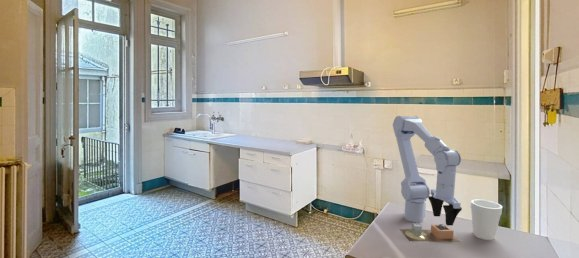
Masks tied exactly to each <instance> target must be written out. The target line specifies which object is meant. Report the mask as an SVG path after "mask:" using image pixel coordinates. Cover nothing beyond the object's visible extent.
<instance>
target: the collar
mask: <svg viewBox="0 0 579 258" xmlns="http://www.w3.org/2000/svg"><path fill="white" fill-rule="evenodd" d="M430 225H431V226H430V230H431V233H432V234H433V235H435V236H436V237H437V238H438V239H453V236H454V230H453V229H452V228H451V227H450V226H448V225H446V223H444V224H443V225H445V226H446V230H440V229H439V224H430Z"/></svg>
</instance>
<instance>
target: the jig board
mask: <svg viewBox="0 0 579 258" xmlns="http://www.w3.org/2000/svg"><path fill="white" fill-rule="evenodd" d="M399 230H400V232H401V233H402V234H403V236H404V237H405V238H406V239H407V240H408V241H409V242H436V243H437V242H441V243H443V242H445V243H461V241H460V240H459V239H458V238H457V237H456V236H454V235H453V239H438V238H437V237H436V236H435V235H433V234H432V233H431V229H422V231H421V232H423V233H425V234H426V235H427V236H428V238H427V239H426V240H415V239H412V238H410V237H408V236H406V235H405V231H407V230H412V228H410V229H406V228H399Z"/></svg>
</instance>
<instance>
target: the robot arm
mask: <svg viewBox="0 0 579 258" xmlns="http://www.w3.org/2000/svg"><path fill="white" fill-rule="evenodd" d="M392 128H393V132H394V136H395V138H396V143H397V147H398V151H399V156H400V160H401V164H402V167H403V172H404V179H403V180H402V181H401V182H400V185H401V189H400V192H401V196H402V197H403V199H404V200H405V202H404V203H405V204H404V219H405V220H406V221H408V222H412V223H423V221H424V218H426V210H427V209H426V208H427V203H426V202H427V199H428V200H429V202H430V206H431V208H432V209H431V210H432V214H433V216H434V217H441V214H442V210H443V209H444V215H445V225H446V226H448V227H450V226H454V224H455V220H456V219H457V216H458V215H459V213H460V212H461V211H462V209H463V208H462V207H461V204H462V203H461V202H459V200H458V199H456V197H455V189H456V188H455V186H456V175H457V174H456V173H457V166H459V165H460V164H461V161H462V157H461V154H460V153H459V151H458V150H456V149H452V148H450V147H449V146H448V145H446V144H445V142H443V141H442V140H441V139H442V138H441V137H440V136H436V135H435V136H433V135H432V134H431V132H430V131H429V130H428V129H427V128H426V127H425V126H424V124H423V119H421V118H420V117H419V115H411V116H410V115H403V116H402V115H397V116H395V117H394V119H393V122H392ZM415 135H417V136H418V137H419V138H420V139H421V140H422V141H423V142H424V147H425V149H427V151H428V152H429V153H430V154H431V156H433V161H434V162H435V167H436V171H437V173H436V187H435V188H434V189H433V188H432V189H430V187H429V186H428V184H427V181H426V179H425V178H423V177H422V176H421V175H420V173H419V169H418V165H417V162H416V158H415V154H414V150H413V146H412V142H411V140H412V139H411V138H413V137H414V136H415ZM430 195H431V196H430ZM444 203H447V204H445V205H444ZM442 208H443V209H442Z"/></svg>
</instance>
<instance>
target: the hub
mask: <svg viewBox="0 0 579 258" xmlns="http://www.w3.org/2000/svg"><path fill="white" fill-rule="evenodd" d="M411 229H412V230H407V231H405V235H406V236H408V237H410V238H412V239H415V240H426V239H427V238H428V236H427V235H426V234H425V233H423V232H421V231H422V230H423V227H422V225H421V224H420V223H411ZM405 235H404V236H405Z"/></svg>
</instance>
